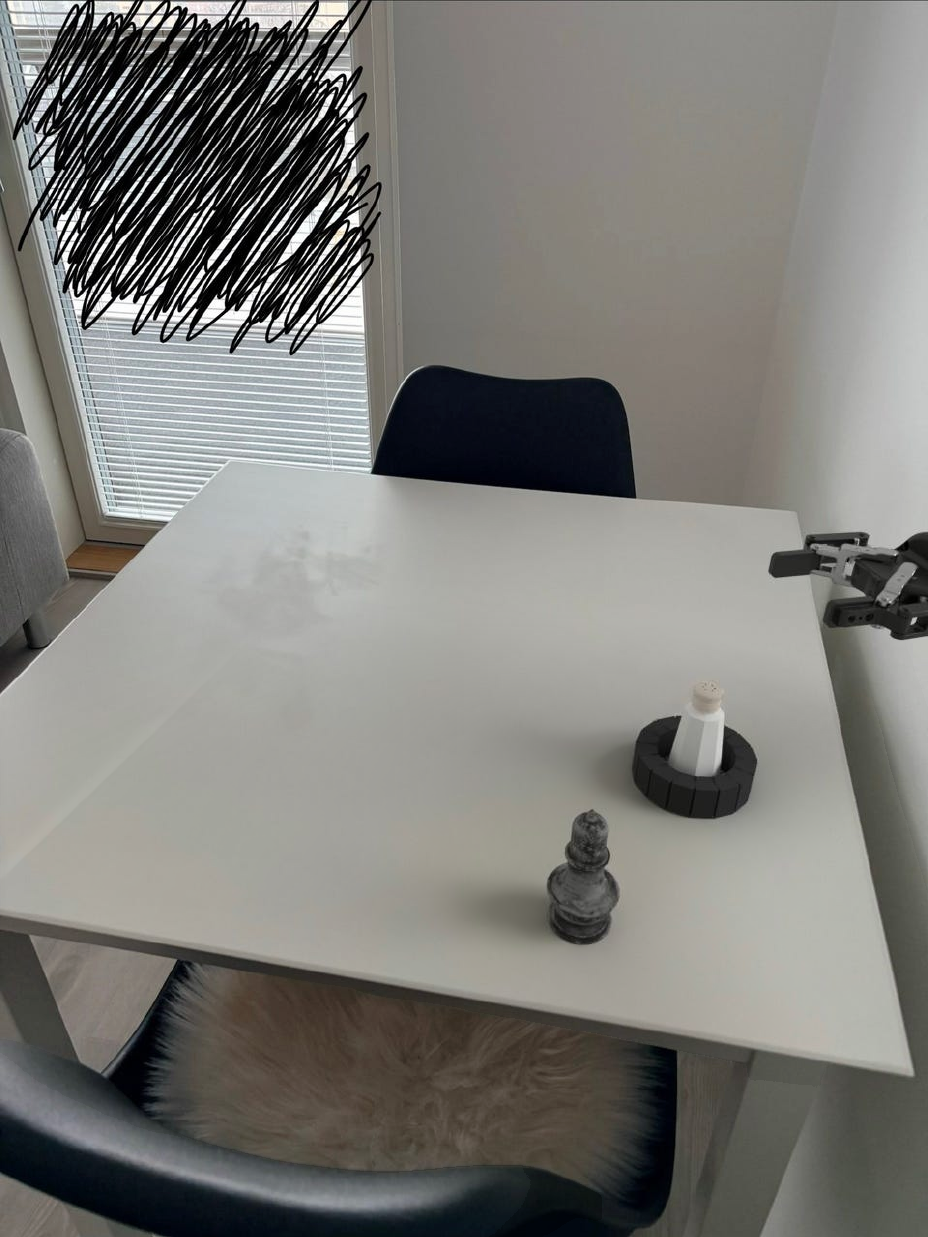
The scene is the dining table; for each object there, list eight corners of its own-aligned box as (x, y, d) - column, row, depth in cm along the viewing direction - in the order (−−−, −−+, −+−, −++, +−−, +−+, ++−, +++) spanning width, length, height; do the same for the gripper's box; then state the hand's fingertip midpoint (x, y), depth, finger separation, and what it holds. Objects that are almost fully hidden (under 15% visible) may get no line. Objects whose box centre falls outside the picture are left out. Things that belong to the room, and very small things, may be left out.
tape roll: (772, 781, 87) (779, 754, 86) (706, 836, 81) (712, 808, 79) (677, 728, 95) (682, 702, 93) (609, 774, 88) (612, 747, 86)
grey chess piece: (536, 936, 71) (545, 826, 65) (553, 883, 76) (563, 776, 69) (608, 956, 69) (624, 845, 63) (620, 900, 74) (637, 793, 68)
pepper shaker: (663, 791, 86) (679, 699, 80) (665, 756, 90) (680, 668, 85) (720, 800, 85) (739, 708, 79) (719, 765, 89) (737, 675, 84)
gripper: (926, 499, 79) (763, 512, 76) (1048, 570, 67) (860, 589, 64) (903, 572, 83) (747, 588, 80) (1015, 653, 71) (836, 674, 68)
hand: (798, 588), depth 72 cm, fingers open, 8 cm apart
